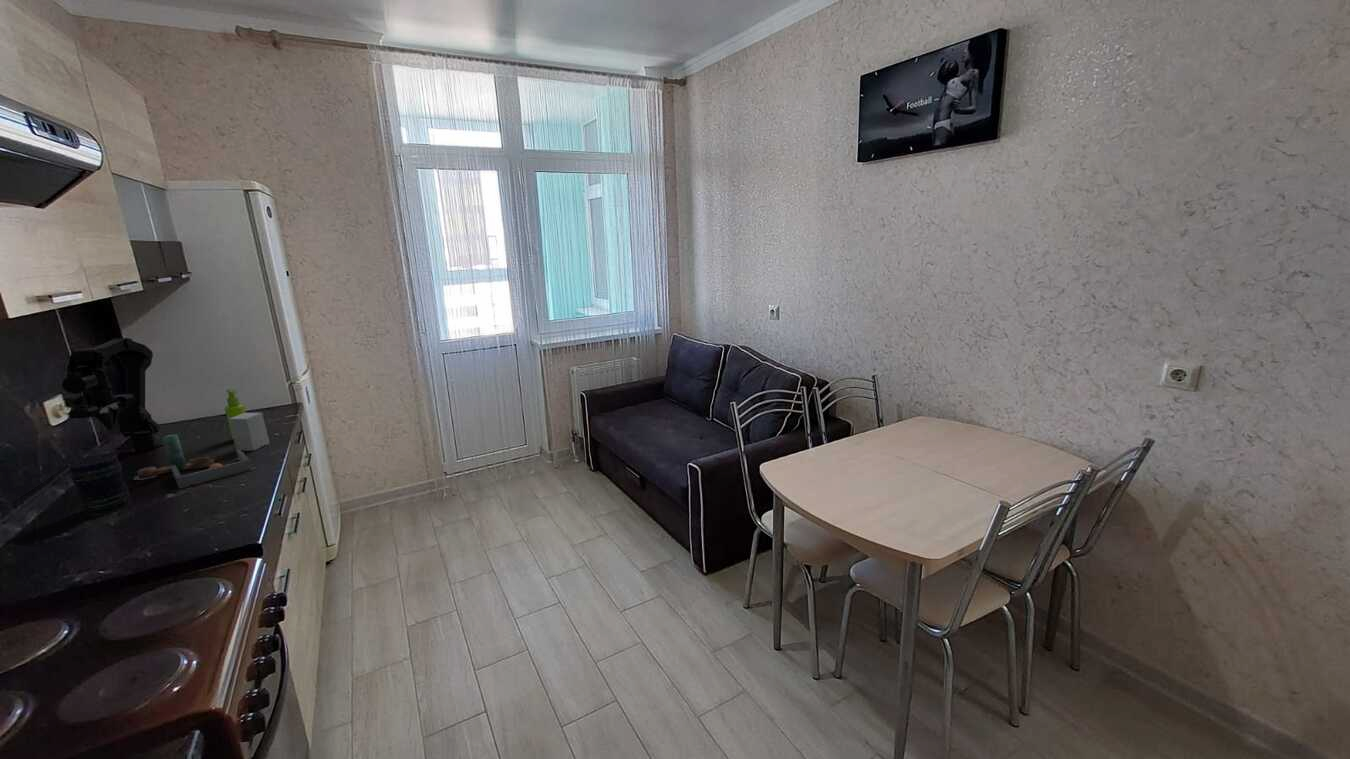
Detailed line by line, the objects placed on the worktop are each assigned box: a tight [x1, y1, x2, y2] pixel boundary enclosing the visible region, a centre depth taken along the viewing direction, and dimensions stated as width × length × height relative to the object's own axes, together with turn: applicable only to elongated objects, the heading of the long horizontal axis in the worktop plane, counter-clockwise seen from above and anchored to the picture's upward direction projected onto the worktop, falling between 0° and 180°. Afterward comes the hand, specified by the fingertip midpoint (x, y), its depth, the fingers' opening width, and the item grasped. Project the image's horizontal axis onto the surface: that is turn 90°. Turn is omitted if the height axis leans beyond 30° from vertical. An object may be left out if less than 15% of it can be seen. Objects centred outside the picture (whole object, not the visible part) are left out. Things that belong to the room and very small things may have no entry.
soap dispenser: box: [224, 388, 247, 440], centre depth 207 cm, size 6×7×20 cm
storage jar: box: [67, 452, 132, 516], centre depth 155 cm, size 10×10×15 cm
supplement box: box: [227, 412, 270, 452], centre depth 199 cm, size 7×7×13 cm
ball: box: [208, 462, 223, 469], centre depth 176 cm, size 4×4×4 cm
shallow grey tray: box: [170, 450, 253, 489], centre depth 178 cm, size 15×18×4 cm
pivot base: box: [133, 474, 161, 481], centre depth 177 cm, size 7×7×1 cm
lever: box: [136, 433, 215, 478], centre depth 179 cm, size 19×4×12 cm, turn 120°
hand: (111, 429), depth 184 cm, fingers closed
